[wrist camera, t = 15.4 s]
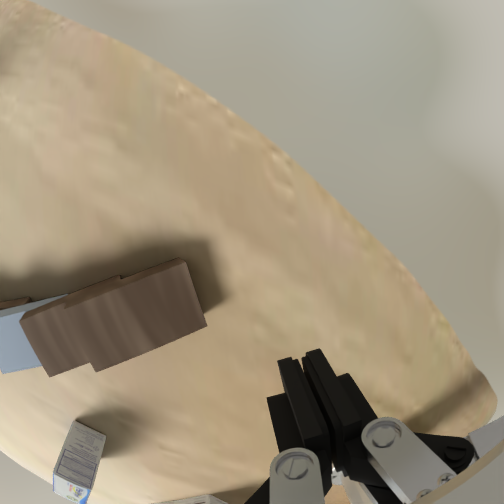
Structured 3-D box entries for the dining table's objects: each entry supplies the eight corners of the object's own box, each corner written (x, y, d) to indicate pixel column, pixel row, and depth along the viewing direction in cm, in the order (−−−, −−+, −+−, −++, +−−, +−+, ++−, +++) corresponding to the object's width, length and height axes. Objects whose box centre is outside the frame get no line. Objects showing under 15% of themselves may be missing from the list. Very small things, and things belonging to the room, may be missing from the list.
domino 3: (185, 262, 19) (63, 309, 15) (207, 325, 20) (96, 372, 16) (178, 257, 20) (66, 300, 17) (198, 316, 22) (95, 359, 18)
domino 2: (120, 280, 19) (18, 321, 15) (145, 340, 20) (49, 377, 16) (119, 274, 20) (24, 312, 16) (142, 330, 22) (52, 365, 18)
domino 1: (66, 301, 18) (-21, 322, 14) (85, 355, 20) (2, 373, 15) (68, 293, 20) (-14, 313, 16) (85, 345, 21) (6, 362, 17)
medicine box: (74, 418, 24) (51, 471, 15) (108, 435, 25) (91, 491, 16) (69, 445, 25) (51, 492, 17) (98, 460, 26) (85, 508, 18)
